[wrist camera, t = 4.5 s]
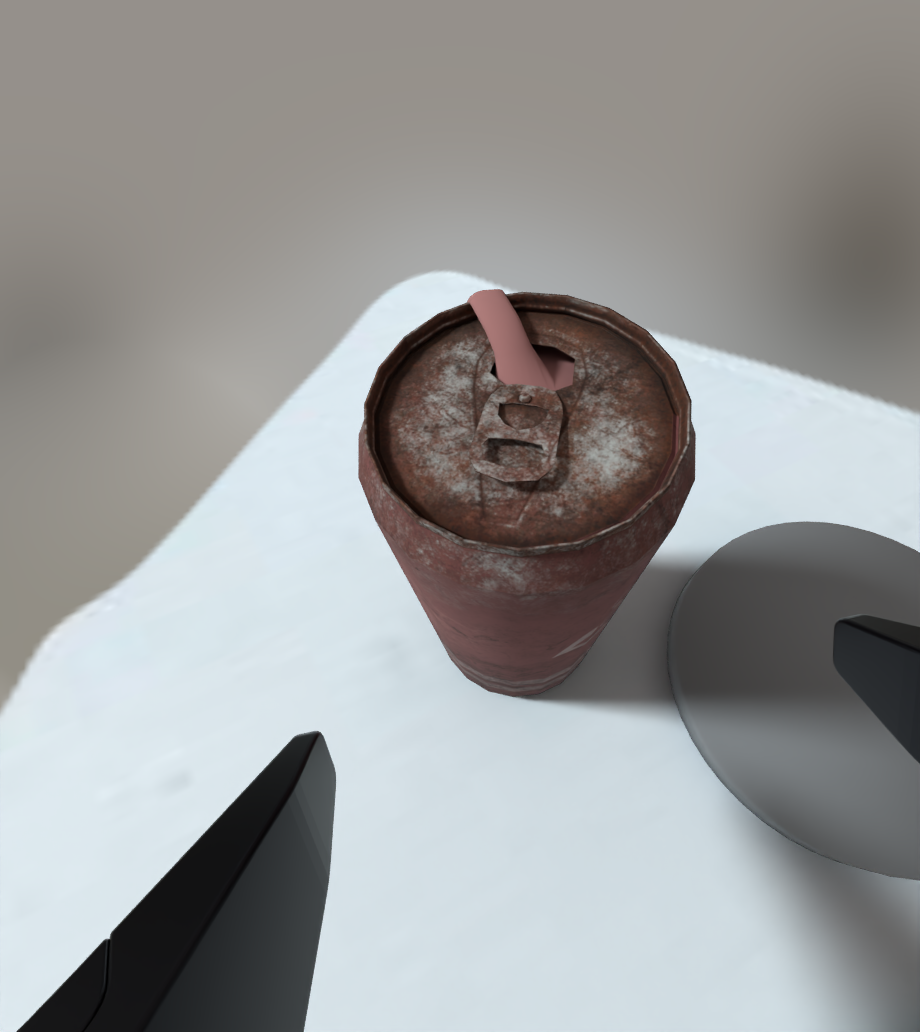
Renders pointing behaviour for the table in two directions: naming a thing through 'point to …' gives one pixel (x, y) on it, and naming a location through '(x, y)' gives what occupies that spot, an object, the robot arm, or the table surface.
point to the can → (525, 475)
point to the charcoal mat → (800, 688)
